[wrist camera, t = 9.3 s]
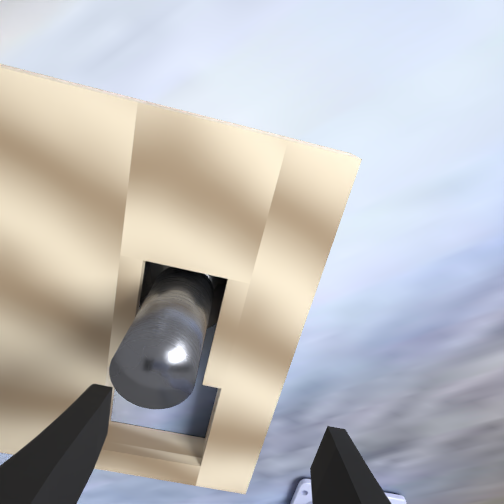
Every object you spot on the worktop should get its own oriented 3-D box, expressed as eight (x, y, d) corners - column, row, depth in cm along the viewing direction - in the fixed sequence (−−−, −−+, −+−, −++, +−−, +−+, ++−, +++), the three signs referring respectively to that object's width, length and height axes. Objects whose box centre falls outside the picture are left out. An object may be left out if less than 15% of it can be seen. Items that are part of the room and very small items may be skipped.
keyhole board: (246, 464, 26) (245, 494, 24) (-18, 418, 24) (-41, 445, 22) (349, 153, 18) (361, 159, 16) (-35, 55, 16) (-74, 48, 14)
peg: (225, 329, 22) (211, 436, 15) (137, 315, 21) (81, 418, 14) (240, 249, 20) (232, 328, 13) (143, 232, 19) (82, 305, 13)
